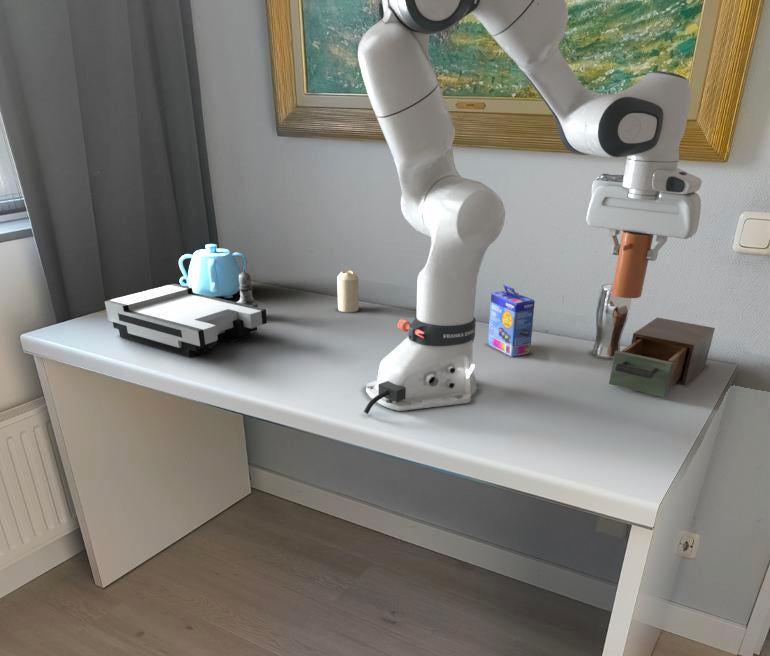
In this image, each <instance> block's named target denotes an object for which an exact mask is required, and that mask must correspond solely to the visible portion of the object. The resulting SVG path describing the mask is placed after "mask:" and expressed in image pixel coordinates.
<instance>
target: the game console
mask: <svg viewBox="0 0 770 656" xmlns="http://www.w3.org/2000/svg"><path fill="white" fill-rule="evenodd" d="M104 304H105V305H104V306H105V311H106V315H107V316H106V317H107V320H108V322H112V327H113V329H116V330H118V333H119V337H121V338H123V339H127V340H130V341H133V342H137V343H140V344H144V345H147V346H151V347H153V348H158V349H161V350H165V351H168V352H171V353H173V354H177V355H181V356H185V357H187V358H192V357H194V356H197V355H199V354H203V353H206V352H208V351H210V350H211V347H214V346H217V341H219V339H220V340H224V341H228V342H232V343H234V342H237V341H239V340H242V339H245V338H247V337H250V336H252V334H251V333H253V332H257V331H258V327H261V326H264V325H266V324H268V319H267V309H266V308H263V307H254V306H250V305H245V304H241V303H237V301H232V300H227V299H223V298H220V297H216V296H215V297H210V296H206V295H201V294H197V293H194V292H193V290H192V287H189V286H183V285H181V284H177V283H171V284H166V285H163V286H159V287H155V288H151V289H147V290H143V291H141V292H140V291H139V292H136V293H132V294H128V295H125V296H120V297H116V298H112V299H108V300H105V301H104Z"/></svg>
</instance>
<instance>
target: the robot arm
mask: <svg viewBox="0 0 770 656" xmlns="http://www.w3.org/2000/svg"><path fill="white" fill-rule="evenodd" d="M378 5H379V6H378V16H379V21H378V22H376V23H374V24H373V25H372V26H370V27H369V29H368V30H366V32H365V33H364V35H362V37H361V38H360V41H359V43H358V46H357V60H358V64H359V69H360V73H361V76H362V80H363V84H364V87H365V91H366V93H367V96H368V99H369V102H370V105H371V107H372V110H373V113H374V115H375V117H376V120H377V122H378V124H379V126H380V130H381V132H382V134H383V137H384V139H385V141H386V143H387V146H388V148H389V151H390V154H391V155H392V158H393V162H394V163H395V167H396V171H397V177H398V180H399V186H400V189H401V196H400V210H401V213H402V215H403V217H404V219H405V220H406V222H407V223H408V224H409V225H410V226H411V227H412V228H413V229H414V230H415V231H416V232H418V233H419V234H421V235H422V236H426V237H429V238H430V240H431V241H430V250H429V253H428V257H427V260H426V262H425V266H424V267H423V268H422V269H421V270H420V271H419V273H418V274H417V278H416V279H417V280H416V312H415V313H416V315H415V316H414V317H413V320H412V322H410V321H408V320H406V319H404V318H402V319H400V320H399V321H398V322H397V328H398V329H399V330H401V331H403V332H407V337H406V338H404V340H402V341H401V342H400V343H399V344H398V345H397V346H396V347H395V348H393V350H392V351H390V352H389V353H388V354H387V355H385V356H384V357H383V358H382V360H380V362H379V366H378V371H377V378H376V380H372V381H369V382H367V383H366V387H365V391H366V393H367V395H368V396H369V397H370V398H371V400H370V401H369V402H368V403H367V405H366V407H365V408H364V410H363V412H364V413H365V414H367V415H369V413H370V411H371V409H372V407H373V406H374V405H375V404H376V403H377V404H379V405H381V406H382V407H385V408H386V409H390V410H394V411H398V412H401V411H402V412H403V411H410V410H419V409H429V408H437V407H445V406H453V405H461V404H469V403H471V401H472V396H473V395H474V394H475V393H476V392H477V390H478V385H477V382H476V381H477V380H476V375H475V371H474V370H475V364H474V349H473V348H474V344H473V343H474V341H475V338H476V317H475V307H476V294H477V286H478V285H477V284H478V279H479V278H478V277H479V273H480V270H481V266H482V263H483V260H484V258H485V256H486V252H487V251H488V249H489V247H490V246H491V245H492V244H494V242H495V241H496V240H497V239H498V238H499V236H500V235H501V232H502V230H503V228H504V225H505V220H506V209H505V205H504V202H503V200H502V199H501V197H500V195H499V194H497V193H496V192H495V191H494V190H493V189H491V188H490V187H489V186H487V185H486V184H485V183H483V182H481V181H479V180H474V179H469V178H466V177H462V175H460V173H459V171H458V169H457V168H456V164H455V159H454V150H453V143H454V140H455V137H456V128H455V125H454V122H453V119H452V117H451V114H450V111H449V109H448V105H447V103H446V100H445V97H444V95H443V91H442V89H441V86H440V83H439V81H438V77H437V75H436V73H435V70H434V68H433V66H432V63H431V58H430V52H429V51H430V49H429V45H430V36H431V35H438V34H441V33H443V32H445V31H447V30H450V29H451V28H452V27H454V26H455V25H456V24H457V23H459V22H460V21H462V20H463V19H464V18H465V17H467V16H469V15H470V14H471V15H473V17H475V18H476V19H477V20H478V21H479V22H480V23H481V25H482V26H483V27H484V29H485V30H486V31H487V32H488V33H489V35H490V36H491V38H493V39H494V41H495V42H496V43H497V44H498V45H499V47H500V48H501V49H502V50H503V51H504V52H505V53H506V54H507V55H508V56H509V57H510V58H511V59H512V60H513V62H514V63H515V64H516V65H517V67H518V68H519V69H520V70H521V72H522V73H523V75H524V77H525V78H526V79H527V81H528V82H529V83H530V85H531V86H532V87H533V89H534V90H535V91H536V93H537V94H538V96H539V97H540V99H541V100H542V101H543V102H544V104H545V106H547V109H549V111H550V112H551V114H552V116H553V118H554V121H555V124H556V127H557V131H558V135H559V138H560V141H561V143H562V144H563V146H564V147H565V148H566V149H567V150H568V151H569V152H571V153H572V154H575V155H579V156H585V155H586V156H596V157H601V158H609V159H620V158H624V157H625V158H626V160H625V167H624V171H623V172H624V173H623V174H610V173H602V174H601V175H599V176H597V177H595V178H594V180H593V182H592V186H591V198H590V201H589V206H588V208H587V213H586V217H585V221H586V223H587V225H588V227H592V228H598V229H607V230H608V232H607V233H608V234H607V236H608V240H609V242H610V245H611V251H610V255H611V256H618V255H619V249H620V244H621V243H619V239H618V235H620V232H623V231H629V232H636V233H644V234H651V235H653V236H656V238H655V242H657V243H656V245H655V246H654V247H653V248H651V249H650V250H648V252H647V256H646V260H648V261H651V262H652V261H653V262H655V261H656V260H657V259H658V255H659V251H660V250H661V249H662V247H663V246H664V245H665V244H666V243H667V241H668V238H675V239H683V240H688V239H690V238H692V237H693V236H694V235H696V233H697V232H698V230H699V229H698V227H699V224H700V219H701V218H700V217H701V211H702V210H701V208H702V201H701V197H700V195H699V194H698V193H697V192H698V191H700V189H701V187H702V183H703V182H702V181H703V180H702V179H701V178H700V177H699V176H697V175H694V174H692V173H689V172H688V171H685V170H683V169H681V168H679V167H678V165H679V160H680V153H679V152H680V144H681V141H682V139H683V137H684V135H685V131H686V127H687V122H688V117H689V111H690V103H691V84H690V81H689V80H688V79H687V77H685V76H683V75H681V74H677V73H674V72H667V71H663V70H654V71H653V70H652V71H649V72H646V74H645V76H644V77H643V78H641V79H640V80H639V81H638V82H636V83H635V84H633V85H631V86H629V87H627V88H626V89H625V88H624V89H623V90H620V91H618V92H617V93H602V92H596V91H593V90H591V89H588V88H587V87H585V86H584V85H583V84H582V83H581V82H580V80H579V78H578V76H577V75H576V74H575V72H574V71H573V70H572V68H571V67H570V65H569V63H568V62H567V61H566V59H565V57H564V56H563V55H562V52H561V50H560V47H559V44H560V42H561V41H562V40H563V37H564V35H565V33H566V31H567V27H568V26H567V25H568V21H569V6H568V3H567V2H566V0H379V4H378Z"/></svg>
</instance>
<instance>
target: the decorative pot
mask: <svg viewBox="0 0 770 656" xmlns="http://www.w3.org/2000/svg"><path fill="white" fill-rule="evenodd" d="M235 257H236V258H237V257H239V258H241V259H242V262H243V263H242V268H241V269H240V267H239V264H238V262H237V261H236V258H235ZM186 259H190V263H189V266H188V271H186V269H185V266H184V263H183V262H184V260H186ZM178 266H179V270H180V271H181V273H182V275H183V276H181V277H180V278H179V283H180V284H179V285H183V286H187V287H192V290H193V293H197V294H201V295H206V296H210V297H215V298H216V297H223V298H224V299H231V298H234V296H233V295H235V294H237V293H238V292H240V289H238V288H239V287H240V284H239V275H240V274H241V273H243V269H244V270H245V272H247V267H248V259H247V257H246V256H245V254H243V253H241V252H237V251H236V252H233V253H231V251H230V250H229V249H227V248H218V244H216V243H208V244H205V248H204V249H203V248H202V249H197V250H195V251H194V252H193V254H190V253H186V254H184V255H182V256H181V257H180V258H179V260H178ZM184 280H185V281H184Z"/></svg>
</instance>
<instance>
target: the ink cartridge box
mask: <svg viewBox="0 0 770 656" xmlns="http://www.w3.org/2000/svg"><path fill="white" fill-rule="evenodd" d="M503 288H504V290H502V291H494V292H491V293H490V295H491V296H490V307H489V322H488V323H489V324H488V335H487V337H488V339H487V345H488V346H490V347H492V348H494V349H496V350H498V351H499V352H501V353H504V354H505V355H507V356H508V357H512V358H513V357H518V356H523V355H530V354H531V349H532V348H531V347H532V337H533V336H532V335H533V327H534V325H533V323H534V313H535V302H536V301H535V300H534V299H533V298H530V297H528V296H525V295H521V294H519V293H518V292H516V291H515V288H514V287H511V286H508V285H505V284H503Z"/></svg>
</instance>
